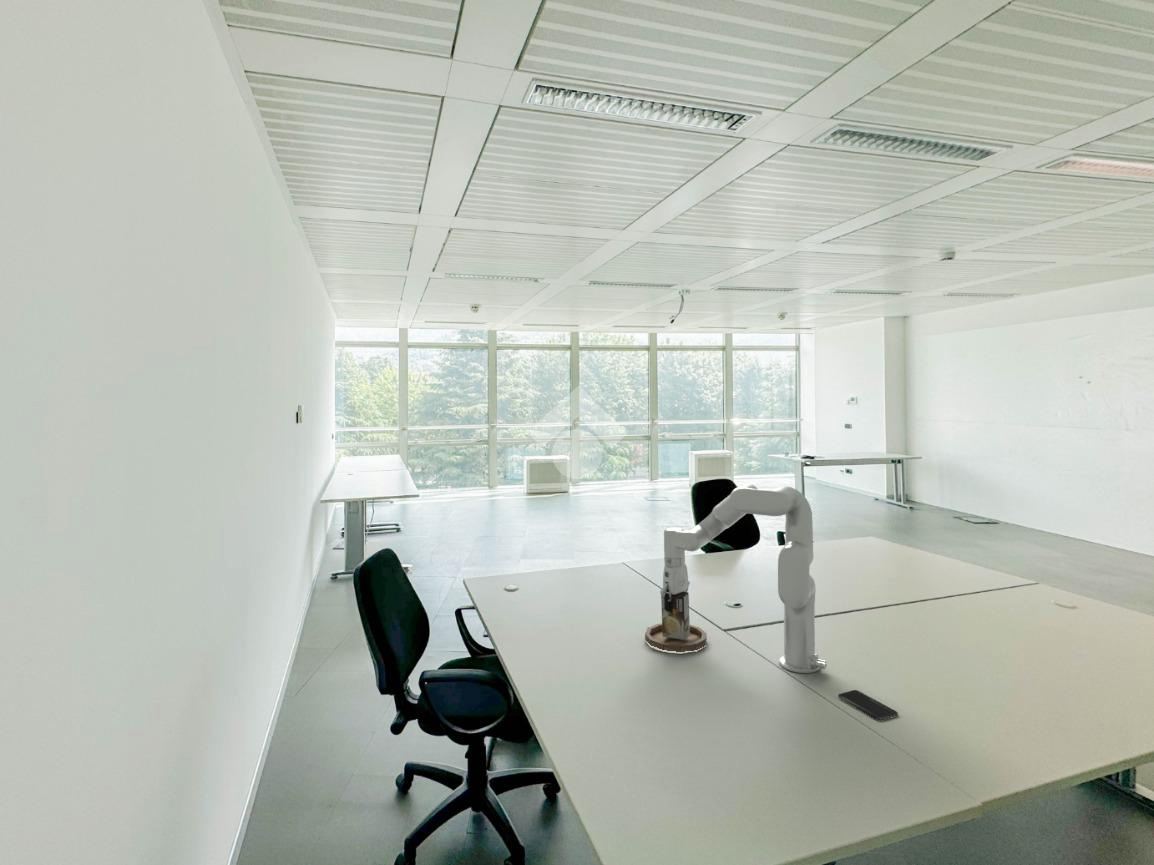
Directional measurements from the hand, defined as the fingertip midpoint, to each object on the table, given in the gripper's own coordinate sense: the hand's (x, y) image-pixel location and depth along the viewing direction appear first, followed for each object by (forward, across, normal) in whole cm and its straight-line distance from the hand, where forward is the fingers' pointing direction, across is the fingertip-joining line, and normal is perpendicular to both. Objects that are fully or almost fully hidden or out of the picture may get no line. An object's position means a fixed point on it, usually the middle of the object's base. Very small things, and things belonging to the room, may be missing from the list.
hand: (675, 607), depth 217 cm
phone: (+14, 0, -68) cm, 69 cm away
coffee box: (+11, 0, 0) cm, 11 cm away
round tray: (+13, 0, 0) cm, 13 cm away
